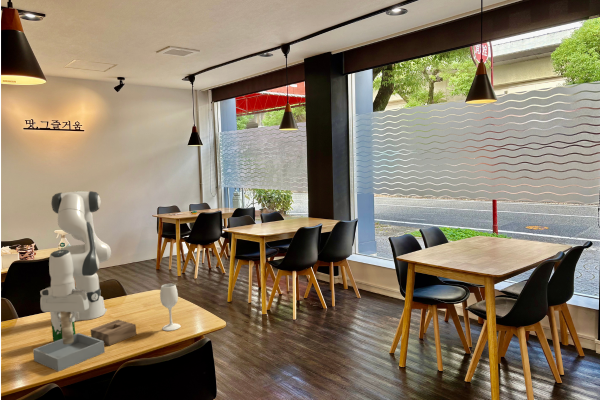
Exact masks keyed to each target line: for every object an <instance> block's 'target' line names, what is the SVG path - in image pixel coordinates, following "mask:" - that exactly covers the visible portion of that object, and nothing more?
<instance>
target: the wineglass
mask: <svg viewBox="0 0 600 400" xmlns="http://www.w3.org/2000/svg"><path fill="white" fill-rule="evenodd" d="M159 291H160V293H159V298H160V299H159V300H160V303H161V305H162V306H163V307H165V308H166V309H168V314H169V323H168V324H166V325H164V326H163V327H162V330H163V331H167V332H169V331H172V332H173V331H175V330H178V329H180V328H181V326H182V325H180V323H175V322H173V317H172V309H173V308H174V307H175V306H176V304H177V303H178V299H179V294H178V289H177V286H176V283H165V284H162V285H161V287H160V290H159Z"/></svg>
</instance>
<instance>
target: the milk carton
mask: <svg viewBox="0 0 600 400" xmlns="http://www.w3.org/2000/svg"><path fill="white" fill-rule="evenodd" d="M49 314H50V322H51V332H52V342H55V341H58V340H60V339H63V337H62V326H61V322H58V319H57V317H56V316H55V314H54V312H49ZM71 316H72V314H71ZM72 327H73V335H74V334H77V333H76V329H75V328H76V326H75V321H74V322H72Z"/></svg>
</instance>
